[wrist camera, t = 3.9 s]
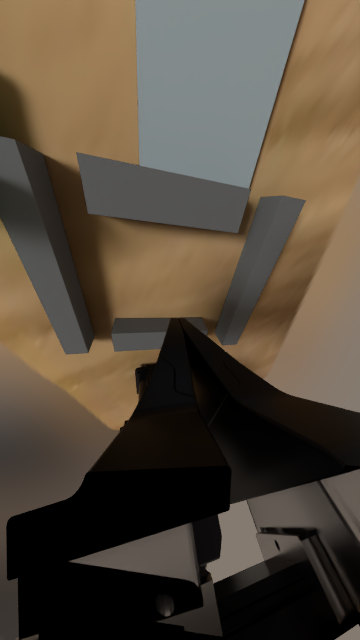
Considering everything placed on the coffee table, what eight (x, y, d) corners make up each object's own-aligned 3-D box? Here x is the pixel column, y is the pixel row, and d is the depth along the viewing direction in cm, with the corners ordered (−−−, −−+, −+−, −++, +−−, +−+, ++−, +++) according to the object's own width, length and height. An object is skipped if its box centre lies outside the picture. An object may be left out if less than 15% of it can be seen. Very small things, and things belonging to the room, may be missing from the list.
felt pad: (243, 197, 12) (245, 197, 12) (139, 178, 10) (139, 177, 10) (303, -11, 7) (310, -20, 7) (132, -115, 6) (132, -134, 5)
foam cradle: (227, 331, 21) (236, 344, 19) (74, 337, 17) (65, 354, 15) (280, 201, 13) (305, 200, 11) (0, 145, 8) (-43, 127, 6)
